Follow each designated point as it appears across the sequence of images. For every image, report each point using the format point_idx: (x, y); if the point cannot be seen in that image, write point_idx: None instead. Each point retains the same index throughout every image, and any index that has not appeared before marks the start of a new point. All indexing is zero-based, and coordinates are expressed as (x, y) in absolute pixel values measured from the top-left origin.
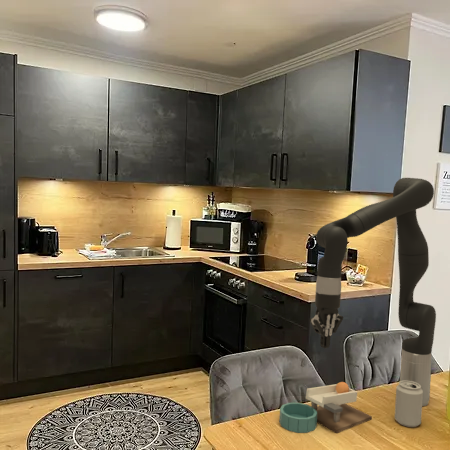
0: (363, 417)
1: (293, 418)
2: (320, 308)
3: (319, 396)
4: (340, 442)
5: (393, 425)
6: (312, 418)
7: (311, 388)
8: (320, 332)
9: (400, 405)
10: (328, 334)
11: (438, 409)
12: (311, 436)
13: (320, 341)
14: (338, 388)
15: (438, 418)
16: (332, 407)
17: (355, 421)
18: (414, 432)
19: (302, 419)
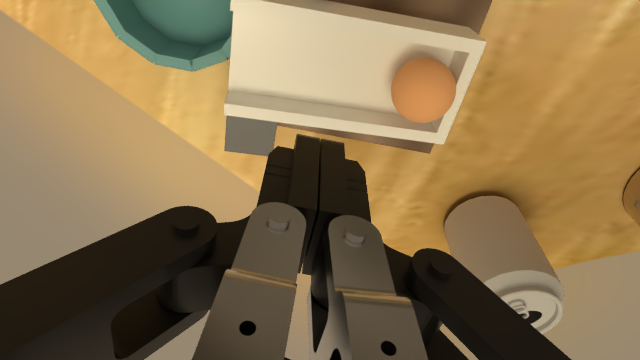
0: (401, 139)
1: (104, 16)
2: None
3: (291, 35)
4: (217, 146)
5: (432, 201)
6: (178, 67)
7: (261, 7)
8: (134, 307)
9: (460, 253)
10: (312, 284)
11: (631, 247)
12: (166, 69)
13: (265, 169)
14: (394, 88)
15: (560, 260)
16: (234, 136)
17: (352, 134)
18: (428, 245)
19: (132, 48)
